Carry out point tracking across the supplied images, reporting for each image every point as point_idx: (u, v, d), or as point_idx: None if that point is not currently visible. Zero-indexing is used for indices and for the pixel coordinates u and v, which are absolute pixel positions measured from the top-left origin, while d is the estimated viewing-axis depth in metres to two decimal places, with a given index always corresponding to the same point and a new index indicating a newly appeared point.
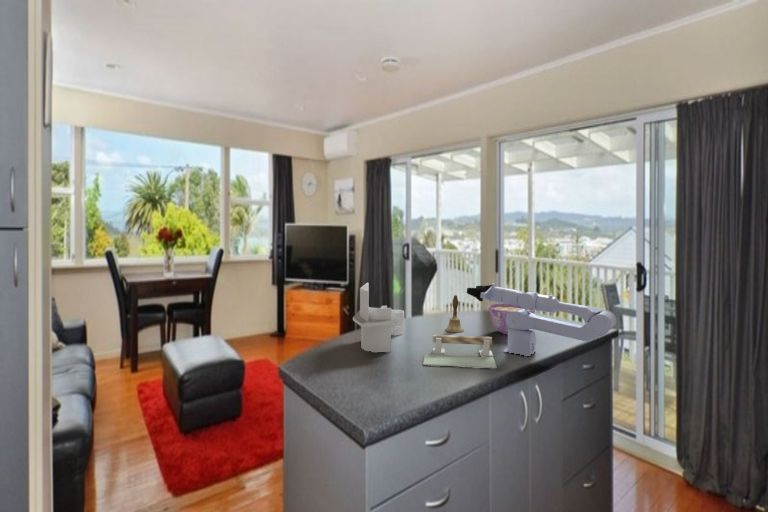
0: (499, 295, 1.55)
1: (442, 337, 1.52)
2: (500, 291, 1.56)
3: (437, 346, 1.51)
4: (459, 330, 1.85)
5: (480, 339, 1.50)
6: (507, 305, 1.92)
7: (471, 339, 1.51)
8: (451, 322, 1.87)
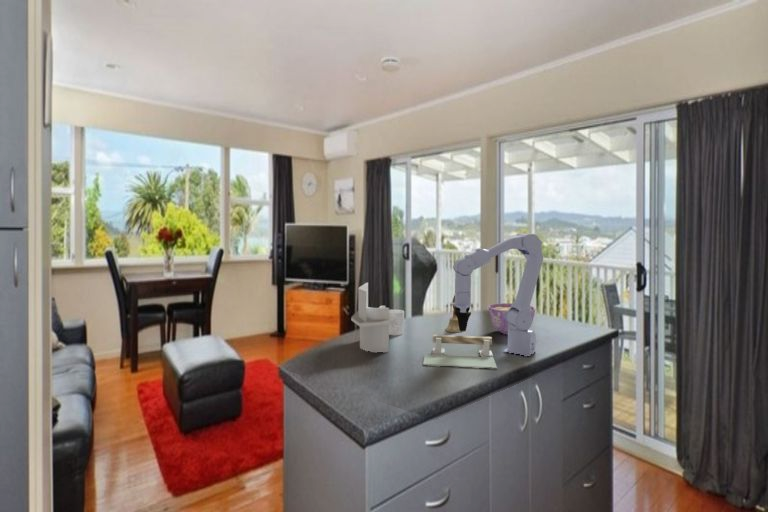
0: (462, 294, 1.49)
1: (442, 337, 1.52)
2: (458, 294, 1.49)
3: (437, 346, 1.51)
4: (459, 330, 1.85)
5: (480, 339, 1.50)
6: (507, 305, 1.92)
7: (471, 339, 1.51)
8: (451, 322, 1.87)
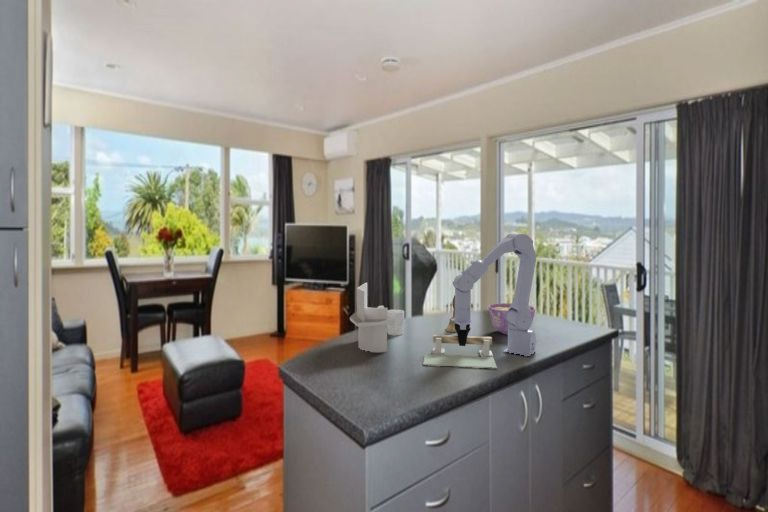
0: (461, 311, 1.49)
1: (442, 337, 1.52)
2: (457, 311, 1.50)
3: (437, 346, 1.51)
4: None
5: (480, 339, 1.50)
6: (507, 305, 1.92)
7: (471, 339, 1.51)
8: (451, 322, 1.87)
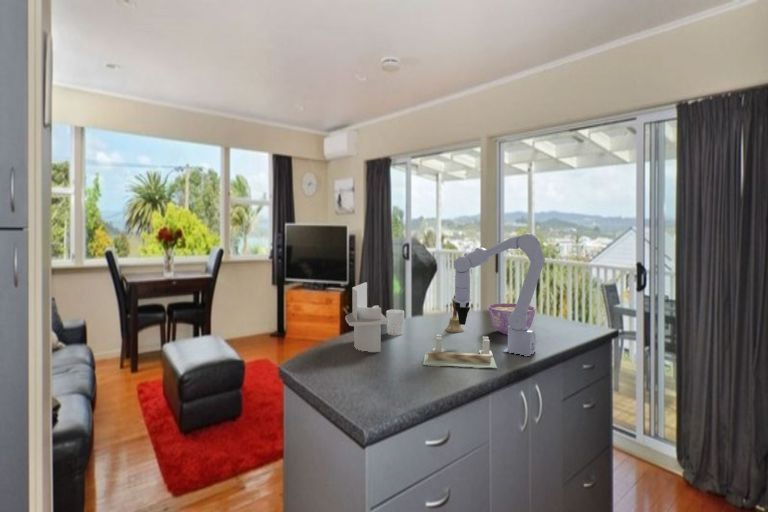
0: (461, 290, 1.59)
1: (438, 354, 1.43)
2: (457, 290, 1.60)
3: (437, 346, 1.51)
4: (459, 330, 1.85)
5: (478, 357, 1.40)
6: (507, 305, 1.92)
7: (468, 357, 1.41)
8: (451, 322, 1.87)
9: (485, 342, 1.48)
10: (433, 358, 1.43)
